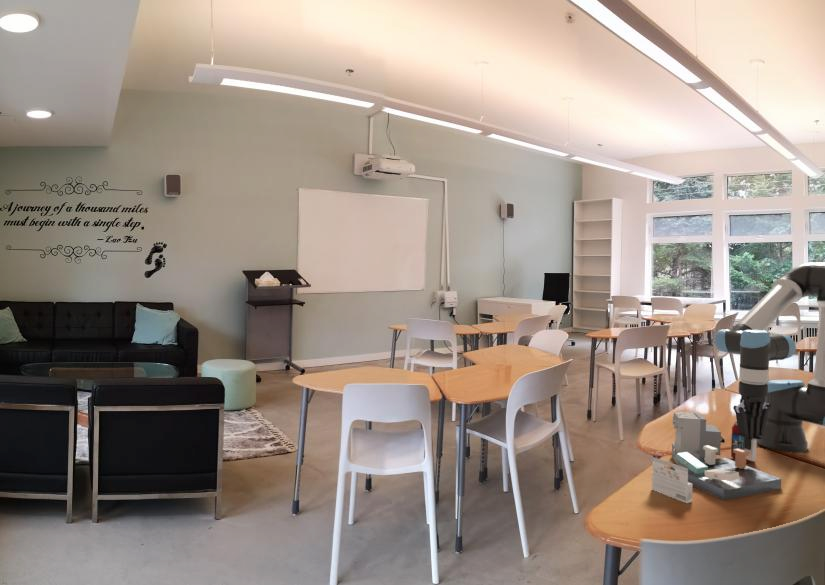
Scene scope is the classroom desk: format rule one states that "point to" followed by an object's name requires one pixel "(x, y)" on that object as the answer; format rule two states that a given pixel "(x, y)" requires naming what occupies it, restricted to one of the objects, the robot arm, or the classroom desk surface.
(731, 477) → the rocker ivory
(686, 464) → the rocker teal
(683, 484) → the ink cartridge box
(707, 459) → the slider ivory
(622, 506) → the classroom desk surface
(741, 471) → the panel
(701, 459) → the circuit breaker
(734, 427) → the beverage can
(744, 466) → the slider rust
